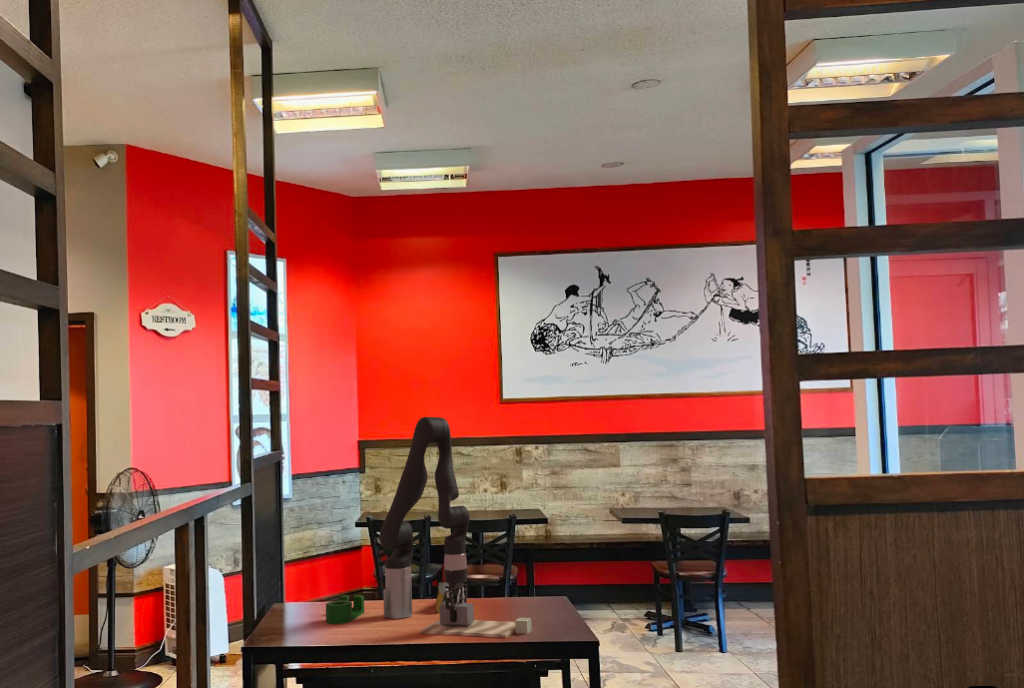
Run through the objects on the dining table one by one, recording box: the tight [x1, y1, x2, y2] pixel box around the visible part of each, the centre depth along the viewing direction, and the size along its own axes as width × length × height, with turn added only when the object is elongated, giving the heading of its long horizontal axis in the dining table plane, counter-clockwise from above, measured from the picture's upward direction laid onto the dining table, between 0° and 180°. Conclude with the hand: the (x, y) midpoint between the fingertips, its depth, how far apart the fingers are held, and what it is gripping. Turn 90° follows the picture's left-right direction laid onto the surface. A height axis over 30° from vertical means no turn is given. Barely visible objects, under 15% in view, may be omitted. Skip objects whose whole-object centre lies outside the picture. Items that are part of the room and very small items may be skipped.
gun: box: [434, 581, 454, 615], centre depth 297 cm, size 3×25×15 cm, turn 166°
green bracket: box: [325, 594, 365, 625], centre depth 284 cm, size 18×9×6 cm, turn 171°
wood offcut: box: [514, 617, 533, 635], centre depth 253 cm, size 4×4×4 cm
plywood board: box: [419, 619, 516, 639], centre depth 259 cm, size 30×16×1 cm, turn 70°
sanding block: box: [439, 602, 475, 626], centre depth 262 cm, size 10×5×6 cm, turn 70°
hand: (457, 619), depth 261 cm, fingers closed on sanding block, 5 cm apart
